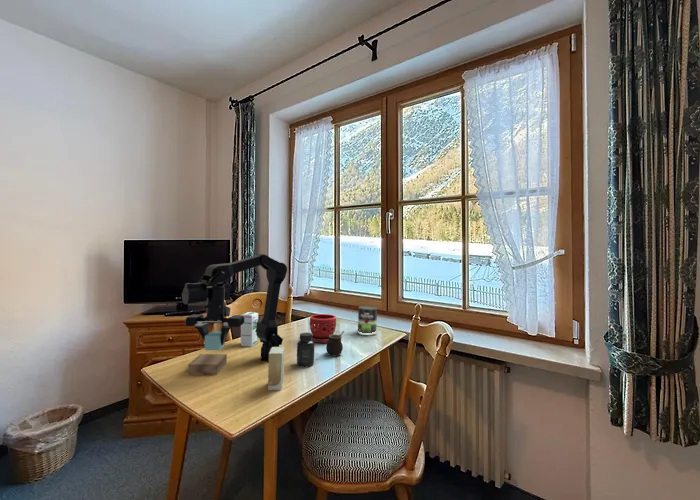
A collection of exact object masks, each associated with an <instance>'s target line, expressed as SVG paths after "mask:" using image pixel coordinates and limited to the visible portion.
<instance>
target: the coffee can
mask: <svg viewBox="0 0 700 500" xmlns="http://www.w3.org/2000/svg"><path fill="white" fill-rule="evenodd" d="M357 315H358V316H357V317H358V319H357V322H358V323H357V332H358V331H359V332H362V333H372V332H375V331H376V332H377V326H378V324H377V320H378V319H377V318H378V307H376V306H373V305H360V306H358V314H357Z"/></svg>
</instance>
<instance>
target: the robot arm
mask: <svg viewBox="0 0 700 500" xmlns="http://www.w3.org/2000/svg"><path fill="white" fill-rule="evenodd" d="M258 266H260V267H261V268H262V269H264V270H266V273H265V274H266V275H265V276H266V279H267V284H268V285H267V291H266V292H267V293H266V297H265V303H264V304H265V305H264V311H263V317H262V319H261V321H258V322H257V328H256V331H255V332H256V335H257V337H258V340H259V342H260V343H261V344H262V346H261V347H260V361H264V362H266V361H267V362H269V352H270V350H271V348H272V347H280V346H281V345H282V343H283V341H284V338H282V337H281V336H280V335H279V334H278V332H279V330H278V329H279V327H278V326H279V325H278V324H277V320H276V319H277V318H276V316H277V311H278V306H279V305H278V304H279V298H280V293H281V292H280V291H281V285H282V283H283V281H284V280H285V279H286V277H287V273H288V267H287V265H286V264H285V263H284V262H280V261H278V260H276V259H274V258H272V257H270V256H268V255H267V254H265V253H257V254H256V255H253V256H250V257H246V258H242V259H240V260H239V259H238V260H235V261H233V262H228V263H218V264H217V263H216V264H209V265H208V266H207V267H206V269H205V271H204V274H203V275H202V276H201V278H200V279H199V280H198V282H195V283H191V282H187V283H184V288H183V290H182V292H181V299H182V303H183V304H184V305H191V304H200V303H205V302H206V304H205V305H204V306H205V307H204V308H205V309H206V316H205V317H204V314H201V313H200V314H197V313H196V314H195V313H194V314H191V315H189V316H187V317H186V318H185V320H184V326H186V327H194V329H196V330H197V331H198V332H199V334H200V336H201V337H202V339H203V341H204V342H203V343H205V335H207V334H208V333H209V332H210V331H209V330H210V329H209V328H210V324H223V326H221V328H220V332H221V345H223V344H224V342H225V343H226V339H227V337H228V333H230V331H231V329H232V328H239V327H240V328H241V325H242V324H243V323H244V317H243V315H242V314H241V315H237V314H235V315H234V314H233V315H231V314H230V313H231V307H229V306H227V303H226V301H225V295H226V288H231V287H232V285H231V284H230V283H228V281H227V280H228V279H230V278H232V277H233V276H234V275H236V274H238V273H240V272H244V271H247V270H250V269H252V268H256V267H258ZM230 315H231V316H230Z"/></svg>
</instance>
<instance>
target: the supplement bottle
mask: <svg viewBox="0 0 700 500" xmlns="http://www.w3.org/2000/svg"><path fill="white" fill-rule="evenodd" d="M314 364H315V341H313V340H312V333H311V332H302V333H300V334H299V340H298V341H297V343H296V365H297V366H298V367H300V368H309V367H312V366H313V365H314Z"/></svg>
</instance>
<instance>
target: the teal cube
mask: <svg viewBox="0 0 700 500" xmlns="http://www.w3.org/2000/svg"><path fill="white" fill-rule="evenodd" d="M225 346H226V341H225V342H224V344H223V345H221V331H209V333H208V334H207V335H205V342H204V351H220V350H221V349H222V348H224V347H225Z"/></svg>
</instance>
